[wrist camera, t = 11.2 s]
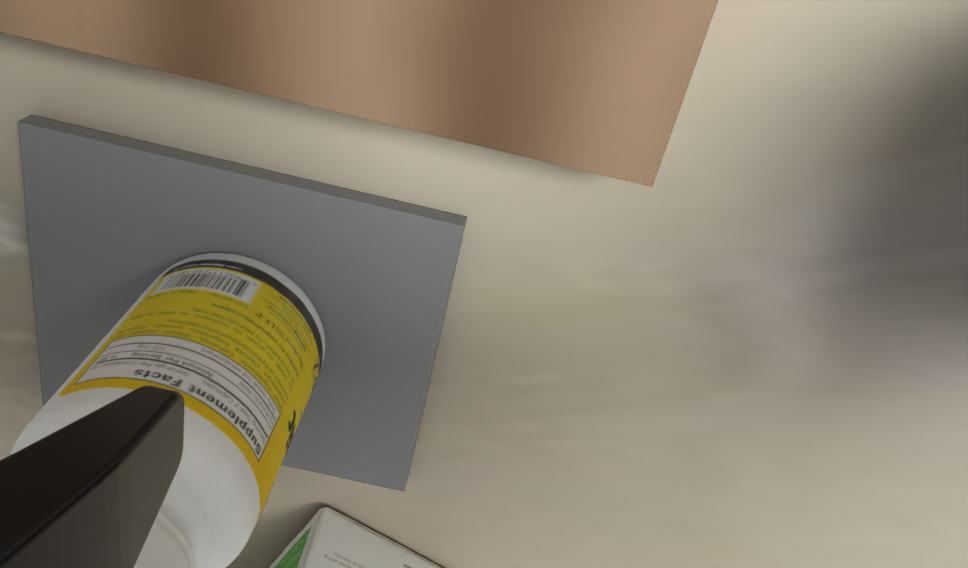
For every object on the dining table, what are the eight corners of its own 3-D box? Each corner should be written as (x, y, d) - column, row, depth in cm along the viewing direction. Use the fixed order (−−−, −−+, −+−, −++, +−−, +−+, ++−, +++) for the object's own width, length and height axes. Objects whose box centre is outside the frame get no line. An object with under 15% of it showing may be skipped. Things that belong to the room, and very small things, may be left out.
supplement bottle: (245, 428, 25) (85, 728, 17) (113, 309, 23) (-143, 579, 15) (368, 347, 23) (259, 640, 15) (235, 210, 21) (23, 456, 13)
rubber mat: (466, 216, 21) (464, 226, 21) (407, 478, 26) (404, 491, 26) (31, 114, 21) (17, 122, 21) (54, 400, 26) (43, 411, 26)
